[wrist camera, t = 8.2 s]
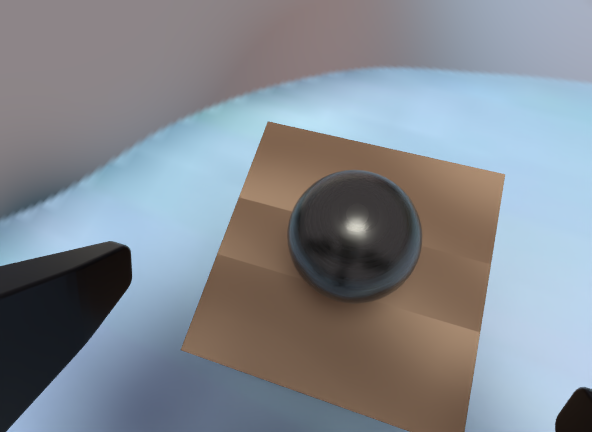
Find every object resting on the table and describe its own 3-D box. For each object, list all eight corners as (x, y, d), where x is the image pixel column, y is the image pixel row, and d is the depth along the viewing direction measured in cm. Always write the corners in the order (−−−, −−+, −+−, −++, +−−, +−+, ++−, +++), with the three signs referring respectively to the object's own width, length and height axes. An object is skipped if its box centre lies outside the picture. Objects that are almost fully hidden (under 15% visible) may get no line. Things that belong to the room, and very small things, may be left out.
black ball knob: (398, 380, 15) (488, 423, 6) (256, 333, 16) (167, 314, 7) (428, 239, 17) (531, 121, 8) (298, 205, 18) (266, 69, 9)
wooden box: (414, 412, 15) (461, 450, 10) (231, 349, 17) (180, 350, 11) (449, 230, 18) (505, 174, 12) (287, 188, 19) (268, 121, 13)
